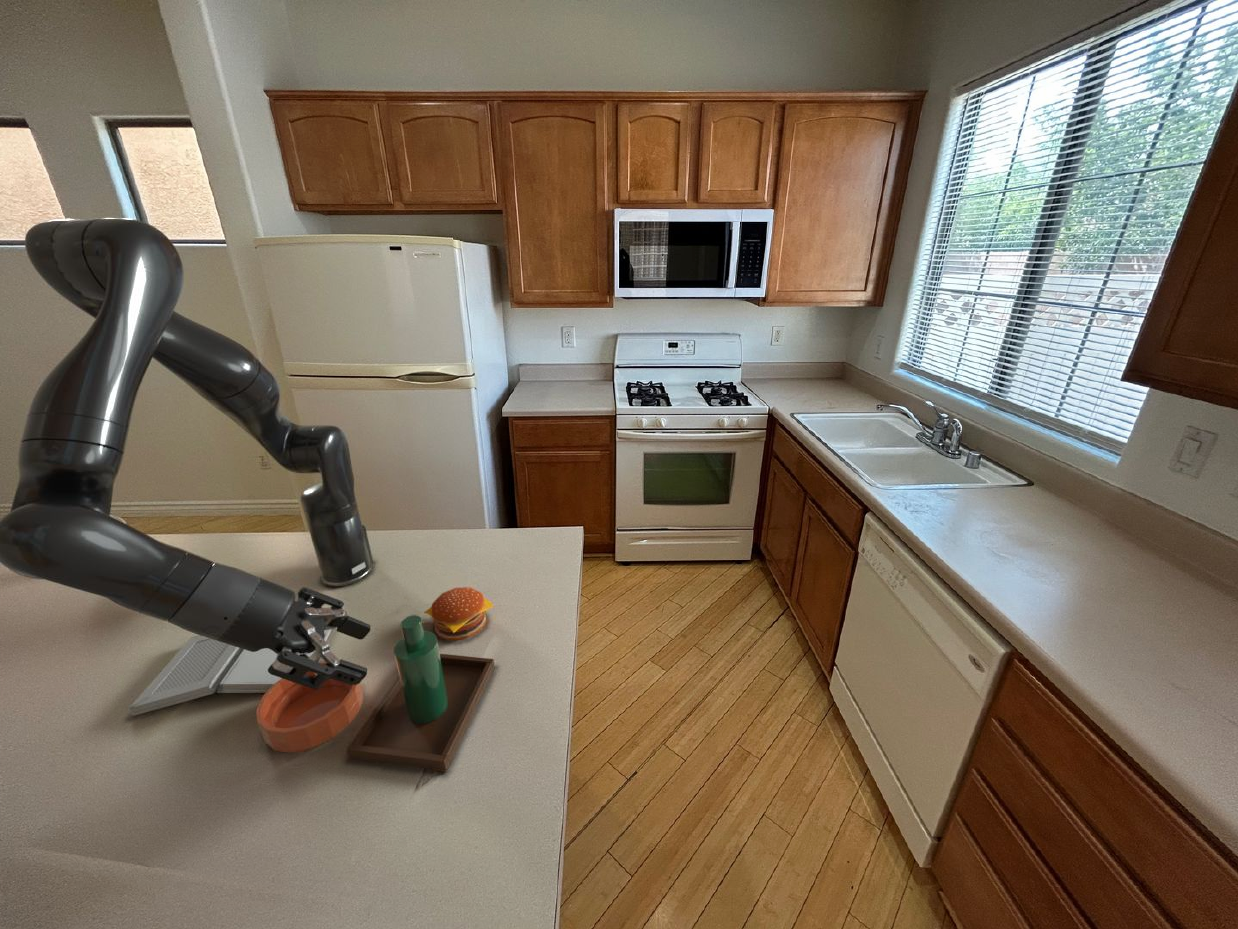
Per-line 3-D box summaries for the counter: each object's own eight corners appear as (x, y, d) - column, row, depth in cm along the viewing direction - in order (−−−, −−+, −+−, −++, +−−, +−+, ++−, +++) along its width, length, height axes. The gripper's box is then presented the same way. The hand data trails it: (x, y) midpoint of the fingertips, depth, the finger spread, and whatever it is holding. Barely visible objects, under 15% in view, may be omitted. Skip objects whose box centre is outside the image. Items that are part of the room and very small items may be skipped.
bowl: (308, 678, 76) (301, 656, 74) (380, 685, 75) (375, 664, 73) (242, 749, 65) (232, 726, 63) (326, 760, 63) (318, 737, 62)
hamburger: (464, 602, 93) (460, 574, 91) (497, 621, 88) (494, 592, 86) (422, 629, 86) (417, 600, 84) (456, 652, 81) (451, 621, 79)
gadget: (336, 626, 87) (332, 610, 86) (304, 692, 73) (298, 674, 72) (193, 644, 83) (186, 627, 81) (131, 718, 69) (121, 699, 68)
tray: (416, 660, 79) (414, 651, 79) (494, 668, 78) (493, 658, 77) (349, 760, 63) (346, 749, 62) (446, 772, 62) (444, 761, 61)
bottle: (420, 690, 73) (402, 606, 67) (454, 694, 73) (440, 609, 66) (400, 722, 68) (379, 634, 62) (437, 726, 67) (420, 638, 61)
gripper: (238, 621, 49) (381, 671, 57) (270, 551, 61) (384, 601, 69) (191, 676, 49) (341, 717, 57) (232, 595, 61) (351, 639, 69)
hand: (365, 653), depth 63 cm, fingers open, 8 cm apart
